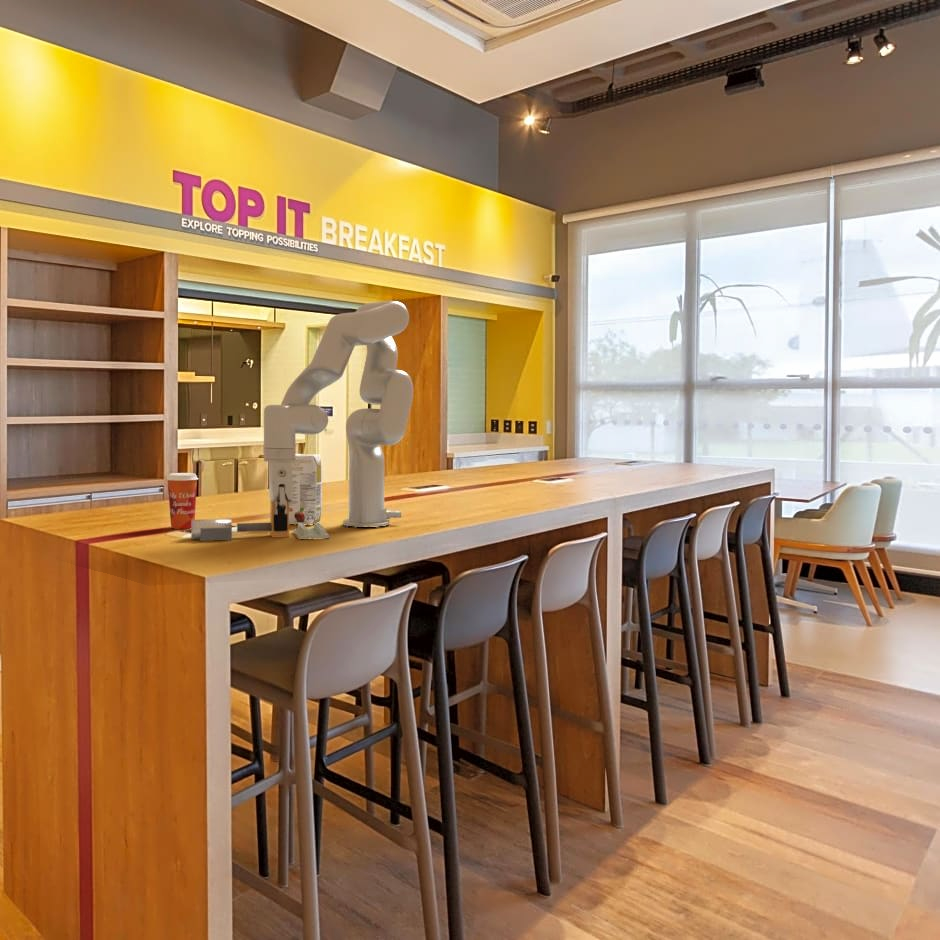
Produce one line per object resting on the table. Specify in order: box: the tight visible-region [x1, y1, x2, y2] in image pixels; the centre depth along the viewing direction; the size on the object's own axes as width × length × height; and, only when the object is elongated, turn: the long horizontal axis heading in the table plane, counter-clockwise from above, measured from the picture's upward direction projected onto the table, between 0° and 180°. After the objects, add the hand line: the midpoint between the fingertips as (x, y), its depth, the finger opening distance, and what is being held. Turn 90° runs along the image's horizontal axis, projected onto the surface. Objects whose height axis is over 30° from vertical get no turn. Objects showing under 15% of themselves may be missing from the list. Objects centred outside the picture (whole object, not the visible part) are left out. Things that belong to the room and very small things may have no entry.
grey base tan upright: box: [236, 499, 290, 538], centre depth 193 cm, size 12×4×9 cm, turn 110°
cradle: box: [293, 522, 330, 540], centre depth 195 cm, size 7×11×2 cm, turn 20°
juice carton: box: [289, 453, 323, 525], centre depth 214 cm, size 8×9×19 cm
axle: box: [190, 518, 232, 541], centre depth 189 cm, size 9×5×5 cm, turn 110°
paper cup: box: [166, 472, 199, 530], centre depth 203 cm, size 8×8×14 cm
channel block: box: [200, 526, 233, 542], centre depth 189 cm, size 7×8×3 cm
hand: (279, 528), depth 194 cm, fingers closed on grey base tan upright, 4 cm apart
